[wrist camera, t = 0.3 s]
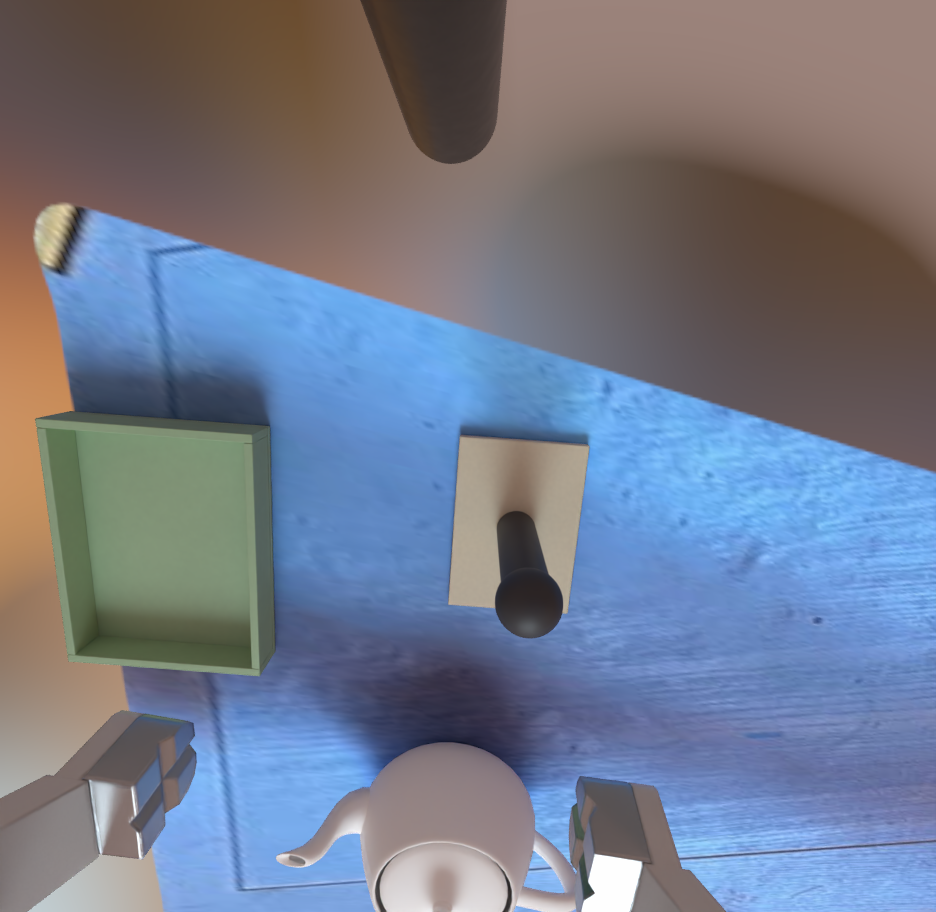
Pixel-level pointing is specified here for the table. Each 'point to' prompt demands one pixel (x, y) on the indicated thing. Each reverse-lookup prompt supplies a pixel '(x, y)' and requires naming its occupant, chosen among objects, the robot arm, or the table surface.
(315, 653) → the table surface
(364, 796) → the teapot
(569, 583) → the joystick
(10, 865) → the robot arm
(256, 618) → the tray
